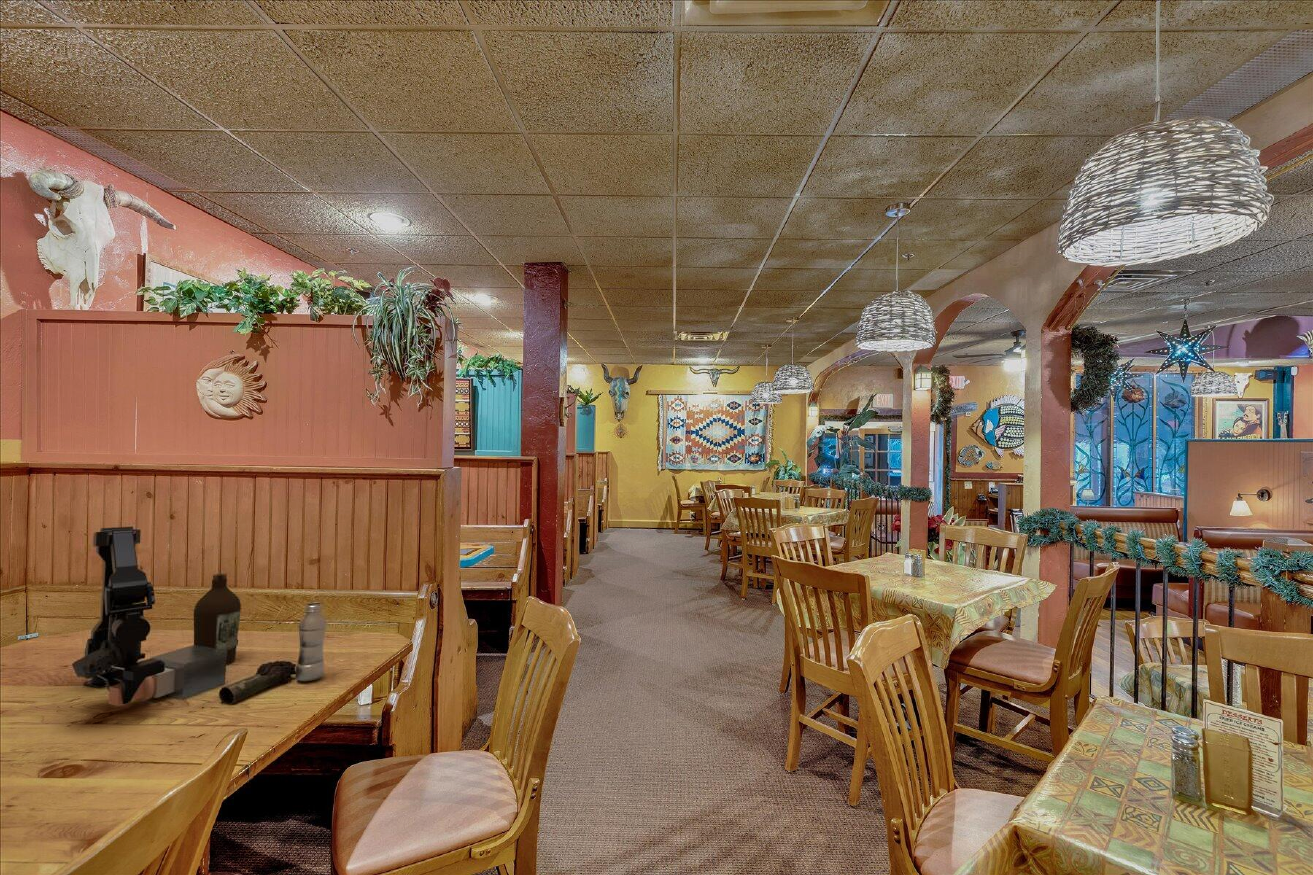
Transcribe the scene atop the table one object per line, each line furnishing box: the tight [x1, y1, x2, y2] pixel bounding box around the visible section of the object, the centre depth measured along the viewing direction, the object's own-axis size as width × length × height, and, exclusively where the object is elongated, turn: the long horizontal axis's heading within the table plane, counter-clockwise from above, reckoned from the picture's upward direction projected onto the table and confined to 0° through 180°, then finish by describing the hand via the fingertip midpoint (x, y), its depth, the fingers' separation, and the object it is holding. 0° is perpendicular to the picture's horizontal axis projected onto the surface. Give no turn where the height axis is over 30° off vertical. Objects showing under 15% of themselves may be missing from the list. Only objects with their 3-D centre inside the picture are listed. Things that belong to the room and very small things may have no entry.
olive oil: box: [193, 572, 242, 666], centre depth 160 cm, size 11×11×25 cm
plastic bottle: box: [295, 602, 328, 682], centre depth 150 cm, size 6×7×20 cm
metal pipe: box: [218, 660, 297, 706], centre depth 143 cm, size 18×7×6 cm, turn 163°
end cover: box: [108, 666, 176, 707], centre depth 135 cm, size 6×15×6 cm, turn 162°
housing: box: [150, 644, 227, 700], centre depth 143 cm, size 12×10×8 cm
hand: (120, 702), depth 129 cm, fingers closed on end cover, 3 cm apart
